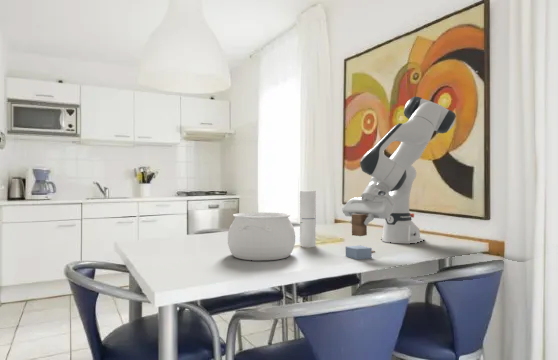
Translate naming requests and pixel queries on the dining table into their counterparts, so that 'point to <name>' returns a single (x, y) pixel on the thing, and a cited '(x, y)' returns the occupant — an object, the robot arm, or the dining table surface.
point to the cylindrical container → (308, 218)
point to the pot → (261, 236)
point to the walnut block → (358, 225)
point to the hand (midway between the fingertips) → (358, 224)
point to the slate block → (358, 252)
